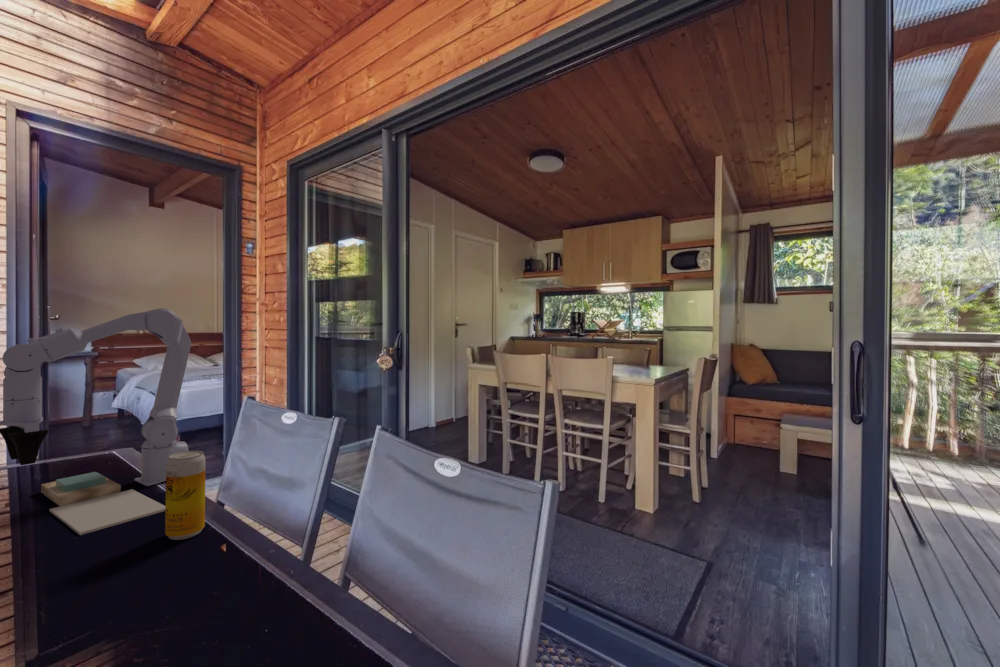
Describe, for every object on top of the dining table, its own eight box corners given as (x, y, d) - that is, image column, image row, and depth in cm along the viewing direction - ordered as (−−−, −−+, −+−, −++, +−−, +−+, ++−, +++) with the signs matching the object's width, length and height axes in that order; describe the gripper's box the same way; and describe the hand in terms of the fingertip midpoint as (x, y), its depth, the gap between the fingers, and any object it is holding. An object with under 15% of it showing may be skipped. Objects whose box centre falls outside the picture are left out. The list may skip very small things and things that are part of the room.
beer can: (157, 538, 80) (157, 457, 80) (189, 524, 86) (189, 449, 86) (181, 543, 78) (182, 460, 78) (212, 529, 84) (213, 451, 84)
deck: (97, 480, 111) (97, 472, 111) (120, 493, 102) (120, 485, 102) (41, 492, 102) (41, 484, 102) (61, 507, 94) (61, 498, 94)
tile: (95, 477, 107) (95, 471, 107) (105, 483, 103) (105, 476, 103) (55, 486, 101) (55, 479, 101) (65, 492, 97) (65, 485, 97)
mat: (132, 491, 103) (132, 489, 103) (168, 509, 93) (168, 507, 93) (49, 511, 92) (49, 508, 92) (80, 535, 81) (80, 532, 81)
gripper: (-13, 398, 95) (-13, 460, 95) (3, 404, 87) (3, 471, 87) (33, 394, 101) (33, 452, 101) (52, 399, 93) (52, 462, 93)
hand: (22, 461), depth 94 cm, fingers open, 7 cm apart
